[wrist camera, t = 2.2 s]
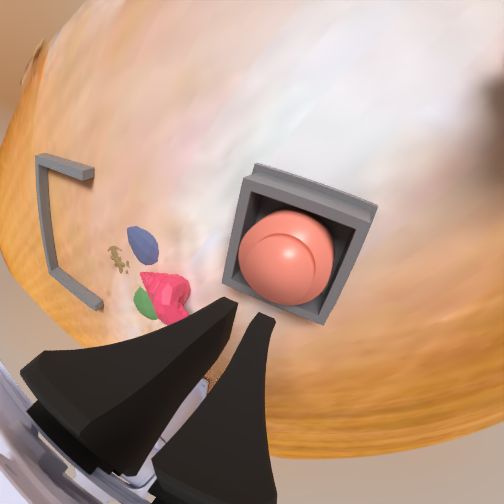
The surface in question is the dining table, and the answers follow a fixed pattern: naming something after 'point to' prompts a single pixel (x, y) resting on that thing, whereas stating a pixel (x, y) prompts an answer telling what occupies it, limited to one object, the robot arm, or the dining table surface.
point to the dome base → (312, 200)
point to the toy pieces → (154, 281)
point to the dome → (287, 256)
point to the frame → (62, 277)
